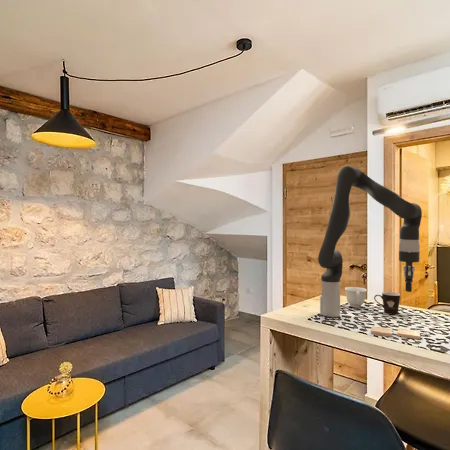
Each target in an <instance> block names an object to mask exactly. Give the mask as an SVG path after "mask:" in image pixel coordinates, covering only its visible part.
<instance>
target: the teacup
mask: <svg viewBox="0 0 450 450" xmlns="http://www.w3.org/2000/svg"><path fill="white" fill-rule="evenodd" d="M344 290H345V296H346V301H347V303H348V304H349V306H350V307H351V308H354V309H355V308H357V309H361V308H362V305H364V304H365V301H366V293H367V292H368V288H367V289H366V288H364V287H361V286H360V287H359V286H345V287H344Z"/></svg>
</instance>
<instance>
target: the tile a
mask: <svg viewBox="0 0 450 450" xmlns="http://www.w3.org/2000/svg"><path fill="white" fill-rule="evenodd" d="M370 334H371V335H377V336H384V337H390V336H391V337H392V338H393V329H392V328H388V327H380V326H371V328H370Z"/></svg>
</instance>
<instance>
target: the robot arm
mask: <svg viewBox="0 0 450 450" xmlns="http://www.w3.org/2000/svg"><path fill="white" fill-rule="evenodd" d="M352 187H355V188H356V189H357V188H358V189H360V190H362V191H364V192H365V193H367V194H368V195H369V196H370V197H371V198H372V199H373V200H375V201H376V203H377V202H378V204H380V205H382V206H384V207H385V208H387V209H389V210H390V211H391V212H393V213H394V214H395V215H396V216H397V217H399V218H401V219H403V223H402V226H400V229H399V242H398V243H399V244H398V261H399V262H403V263H405V265H403V266H402V267H403V275H404V276H403V277H404V282H405V289H404V290H405V292H407V293H411V292H412V289H413V287H412V285H413V282H414V280H413V278H414V277H415V273H414V272H415V266H414V265H413V263H419V262H420V254H421V253H420V252H421V251H420V226H421V221H422V217H423V216H422V215H423V212H422V208H421V206H420V205H419V204H417V203H415V202H414V203H413V202H409V201H408V200H405V199H404V198H402V197H401V195H399V194H398V193H396V192H395V191H393V190H391V189H389V188H388V187H386V186H384V185H382V184H381V183H378V182H377V181H375V180H374V179H372V178H371V177H369V176H368V175H367V174H365V172H364V171H362V170H361V169H360V168H359V167H355V166H348V165H346V166H343V167H341V168H340V169H339V171H338V173H337V177H336V182H335V192H334V197H333V201H332V206H331V210H330V214H329V217H328V221H327V227H326V230H325V235H324V239H323V241H322V244H321V247H320V249H319V253H318V258H317V261H318V264H319V266H320V267H321V268H323V269H326V270H325V271H324V273H322V274H321V280H320V282H321V283H320V284H321V286H320V289H321V290H320V297H319V310H320V311H319V314H320V316H324V317H329V318H337V317H340V316H341V278H342V275H343V254H342V252H340V250H338V249H336V247H337V244H338V242H339V240H340V239H341V237H342V236H343V234H344V233H345V231H346V230H347V227H348V225H349V221H350V217H351V206H350V193H351V190H352Z"/></svg>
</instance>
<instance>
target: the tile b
mask: <svg viewBox="0 0 450 450" xmlns="http://www.w3.org/2000/svg"><path fill="white" fill-rule="evenodd" d="M400 336H401V338H408V339H415V340H421V334H420V331H419V330H411V329H403V328H397V337H400Z"/></svg>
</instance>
